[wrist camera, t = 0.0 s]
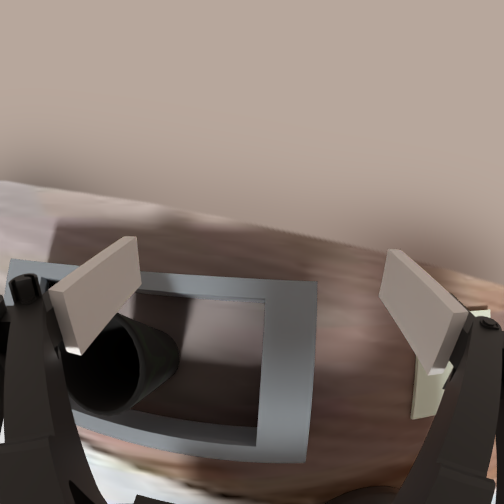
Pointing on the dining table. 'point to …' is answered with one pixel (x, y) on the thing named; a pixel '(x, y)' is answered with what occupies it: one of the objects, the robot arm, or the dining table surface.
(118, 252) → the robot arm
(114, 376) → the cup
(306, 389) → the slot box
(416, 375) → the mat
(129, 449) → the dining table surface
